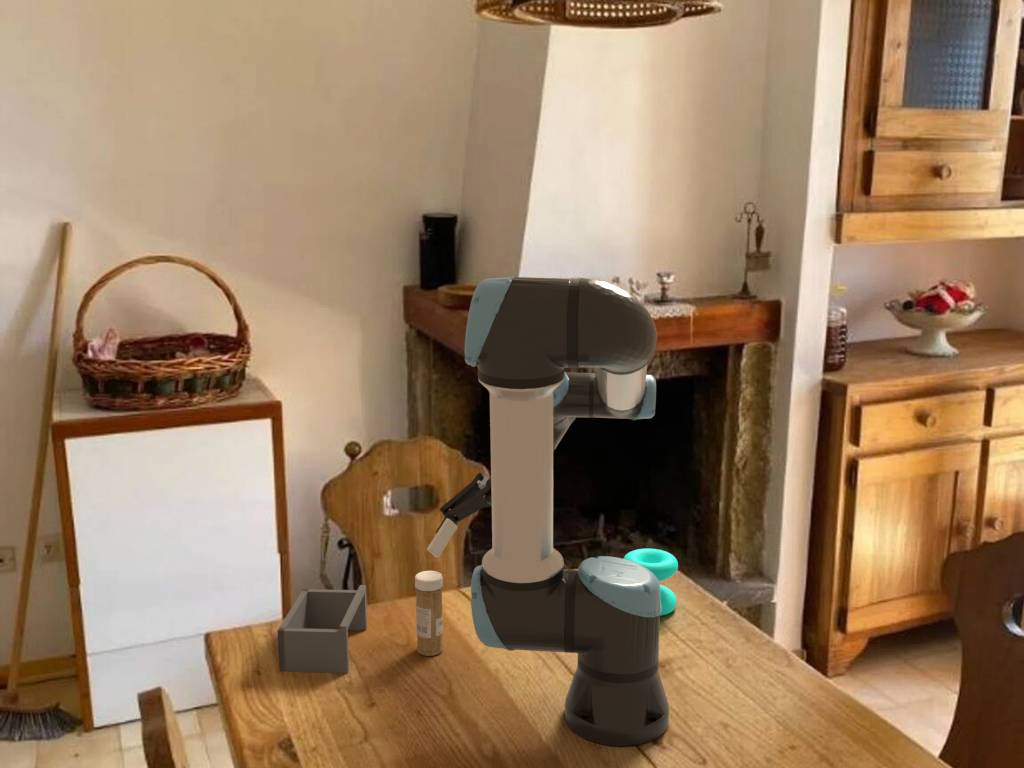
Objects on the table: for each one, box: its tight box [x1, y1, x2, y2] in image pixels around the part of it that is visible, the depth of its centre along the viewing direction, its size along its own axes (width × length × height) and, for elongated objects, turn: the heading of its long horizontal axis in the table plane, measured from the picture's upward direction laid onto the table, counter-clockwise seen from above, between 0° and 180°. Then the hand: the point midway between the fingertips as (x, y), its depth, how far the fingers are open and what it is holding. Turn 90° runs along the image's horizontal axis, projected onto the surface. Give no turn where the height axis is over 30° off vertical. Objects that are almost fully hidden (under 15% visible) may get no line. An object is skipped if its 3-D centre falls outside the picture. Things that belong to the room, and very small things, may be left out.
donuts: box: [623, 548, 679, 617], centre depth 179 cm, size 10×10×10 cm
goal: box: [276, 584, 368, 674], centre depth 164 cm, size 16×11×8 cm
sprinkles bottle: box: [414, 570, 444, 657], centre depth 163 cm, size 5×5×13 cm
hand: (457, 565), depth 166 cm, fingers open, 13 cm apart
